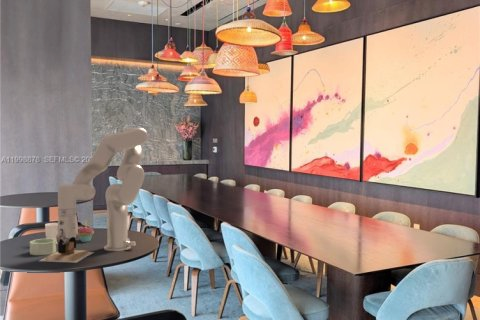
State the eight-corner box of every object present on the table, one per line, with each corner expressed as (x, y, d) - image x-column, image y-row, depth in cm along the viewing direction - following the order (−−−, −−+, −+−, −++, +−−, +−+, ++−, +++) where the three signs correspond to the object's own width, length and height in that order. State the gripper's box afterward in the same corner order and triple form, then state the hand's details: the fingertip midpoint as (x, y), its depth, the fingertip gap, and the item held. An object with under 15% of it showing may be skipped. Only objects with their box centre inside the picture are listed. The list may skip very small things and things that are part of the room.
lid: (88, 253, 193) (87, 239, 193) (74, 260, 180) (74, 246, 180) (61, 252, 194) (61, 239, 194) (45, 259, 181) (45, 245, 181)
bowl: (60, 250, 199) (60, 238, 199) (47, 256, 188) (47, 244, 188) (38, 249, 200) (38, 238, 200) (24, 255, 189) (24, 243, 189)
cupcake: (95, 241, 218) (95, 218, 218) (79, 243, 213) (78, 220, 213) (91, 238, 225) (91, 216, 225) (75, 240, 221) (74, 217, 220)
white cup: (57, 241, 218) (57, 222, 218) (65, 243, 213) (64, 223, 213) (42, 243, 212) (42, 224, 212) (49, 246, 207) (49, 226, 207)
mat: (94, 253, 195) (94, 252, 195) (76, 263, 178) (76, 262, 178) (59, 251, 196) (59, 251, 196) (38, 261, 179) (38, 261, 179)
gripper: (65, 215, 177) (65, 255, 178) (84, 209, 194) (84, 246, 195) (48, 215, 178) (48, 255, 179) (68, 208, 195) (69, 245, 196)
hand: (67, 250), depth 187 cm, fingers open, 8 cm apart
